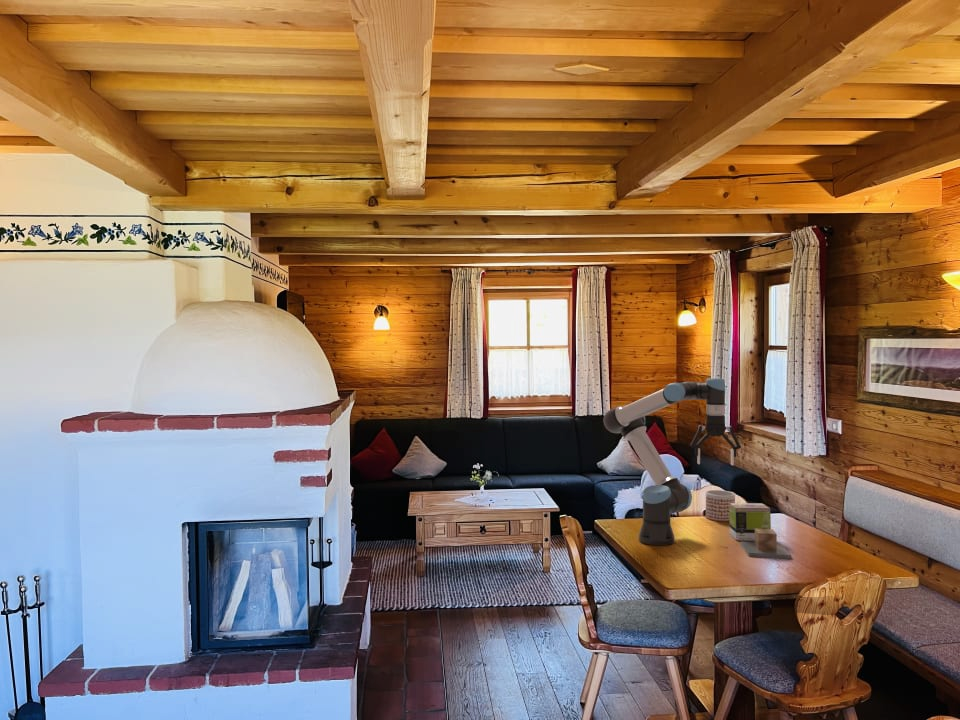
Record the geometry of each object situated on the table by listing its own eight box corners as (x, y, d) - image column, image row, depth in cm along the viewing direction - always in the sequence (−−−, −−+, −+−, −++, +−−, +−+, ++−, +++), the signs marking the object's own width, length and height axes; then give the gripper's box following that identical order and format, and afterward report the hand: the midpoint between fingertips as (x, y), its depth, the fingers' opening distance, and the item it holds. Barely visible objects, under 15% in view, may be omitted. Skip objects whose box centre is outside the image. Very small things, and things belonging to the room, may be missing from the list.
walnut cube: (758, 550, 266) (758, 533, 266) (754, 545, 273) (754, 528, 273) (776, 551, 265) (776, 534, 265) (772, 546, 272) (772, 529, 272)
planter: (708, 521, 318) (708, 495, 318) (703, 514, 332) (703, 489, 331) (737, 522, 316) (737, 496, 316) (731, 515, 329) (731, 490, 329)
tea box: (763, 535, 293) (763, 502, 293) (771, 541, 283) (771, 508, 283) (729, 534, 295) (729, 502, 295) (735, 540, 285) (735, 507, 285)
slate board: (748, 556, 263) (748, 552, 263) (740, 544, 278) (740, 541, 278) (791, 558, 260) (791, 555, 260) (780, 547, 275) (780, 543, 275)
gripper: (686, 414, 276) (685, 464, 276) (748, 415, 271) (748, 466, 271) (684, 413, 283) (683, 461, 283) (744, 414, 278) (744, 463, 279)
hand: (715, 464), depth 277 cm, fingers open, 13 cm apart
